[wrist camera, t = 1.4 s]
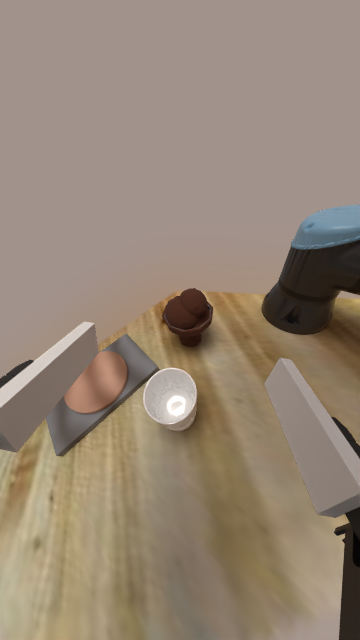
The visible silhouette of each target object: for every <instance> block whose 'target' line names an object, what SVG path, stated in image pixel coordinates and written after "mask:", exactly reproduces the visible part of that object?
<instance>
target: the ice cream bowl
mask: <svg viewBox="0 0 360 640" xmlns="http://www.w3.org/2000/svg"><path fill="white" fill-rule="evenodd" d="M212 314H213V307H212V306H211V305H210V304H209V303H208V302H207V300H206V297H205V296H204V294H203V293H202V292H201V291H199V290H197V289H195V288H194V289H187V290H185V291H183V292H182V293H181V295H180V296H176V297H175V298H174V299H172V300H170V301H168V304H167V305H166V307H165V310H164V313H163V315H162V317H163V319H164V321H165V323H166V324H167V326H168V328H169V330H170V331H171V332H173V333H175V334H178V335H181V338H180V340H181V342H182V343H183V345H186V346H188V347H191V346H196V345H197V344H198V343H200V342H201V334H200V333H201V332H203V331H204V330H205V329H206V328H207V327H208V326H209V325H210V324H211V321H212Z"/></svg>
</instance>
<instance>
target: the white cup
mask: <svg viewBox="0 0 360 640" xmlns="http://www.w3.org/2000/svg"><path fill="white" fill-rule="evenodd" d="M143 402H144V407H145V409H146V412H147V413H148V415H149V416H150V417H151V418H152V419H153V420H154V421H156V422H158V423H159V424H161V425H162V426H164V427H166V428H168V429H171V430H172V431H183V430H185V429H187V428H189V427H190V426H191V424H192V423H193V422H194V420H195V416H196V411H197V390H196V385H195V383H194V380H193V379H192V377H191V376H190V375H189V374H188V373H187V372H185V371H183V370H181V369H178V368H166V369H163V370H160V371H159V372H157V373H156V374H154V375H153V376H152V377H151V378H150V380H149V381H148V383H147V385H146V387H145V390H144V395H143Z"/></svg>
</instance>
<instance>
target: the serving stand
mask: <svg viewBox="0 0 360 640" xmlns="http://www.w3.org/2000/svg"><path fill="white" fill-rule="evenodd" d="M157 371H159V369H158V367H157V366H156V365H155V364H154V362H153V361H152V360H151V359H150V358H149V357H148V356H147V355H146V354H145V353H144V352H143V351H142V350H141V349H140V348H139V347H138V346H137V344H136V343H135V342H134V341H133V340H132V339H131V338H130V337H129V336H128V335H127V334H125V335H123V336H122V337H121V338H119V339H118V340H116V341H115V342H113V343H112V344H111V345H109V346H108V347H106V348H105V349H103V350H102V351H101V352H99V353H98V354H97V355H96V357H95V358H94V359H93V360H92V362H91V363H90V364H89V365H88V366H87V368H86V369H85V370H84V371H83V373H82V374H81V375H80V376H79V377H78V379H77V380H76V381H75V382H74V384H73V385H72V386H71V387H70V388H69V390H68V391H67V392H66V393H65V395H64V396H63V397H62V398H61V399H60V401H59V402H58V403H57V404H56V406H55V407H54V408H53V409H52V410H51V412H50V413H49V414H48V415H47V417H46V421H47V424H48V428H49V431H50V435H51V439H52V442H53V446H54V449H55V453H56V456H63V455H64V454H65V453H66V452H67V451H69V450H70V449H71V448H72V447H73V446H74V445H75V444H76V443H78V442H79V441H80V440H81V439H82V438H83V437H84V436H85V435H87V434H88V433H89V432H90V431H91V430H92V429H93V428H94V427H96V426H97V425H98V424H99V423H100V422H101V421H102V420H103V419H105V418H106V417H107V416H108V415H109V414H110V413H111V412H112V411H114V410H115V409H116V408H117V407H118V406H119V405H120V404H121V403H123V402H124V401H125V400H126V399H127V398H128V397H129V396H130V395H132V394H133V393H134V392H135V391H136V390H137V389H138V388H139V387H141V386H142V385H143V384H144V383H145V382H146V381H147V380H148V379H150V378H151V377H152V376H153V375H154V374H155V373H156V372H157Z"/></svg>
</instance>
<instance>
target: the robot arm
mask: <svg viewBox="0 0 360 640" xmlns="http://www.w3.org/2000/svg"><path fill="white" fill-rule="evenodd" d="M340 291H346V292H349V293H353V294H357V295H360V205H350V206H341V207H335V208H330V209H326V210H322V211H319V212H316V213H314V214H312V215H310V216H309V217H307V218H306V219H305V220H304V221H303V222H302V223H301V225H300V227H299V229H298V231H297V233H296V236H295V238H294V239H293V241H292V242H291V249H290V251H289V254H288V256H287V259H286V262H285V264H284V267H283V270H282V273H281V275H280V278H279V281H278V283H276V285H275V286H274V287H273V288H272V289H271V291H270V292H269V293H268V294H267V295H266V296H265V298H264V301H263V304H262V312H263V315H264V316H265V318H266V319H267V320H268V321H269V322H270V323H271V324H273V325H274V326H276V327H278V328H280V329H282V330H284V331H287V332H291V333H295V334H312V333H316V332H319V331H321V330H322V329H324V328H325V326H326V325H327V324H328V323H329V321H330V320H331V318H332V311H333V307H334V303H335V299H336V297H337V295H338V294H339V293H340ZM98 353H99V352H98V345H97V337H96V330H95V324H94V323H90V322H83V323H82V324H81V325H79V326H78V327H77V328H75V329H74V330H73V331H72V332H70V333H69V334H68V335H67V336H65V337H64V338H63V339H62V340H60V341H59V342H58V343H57V344H55V345H54V346H53V347H52V348H51V349H49V350H48V351H47V352H45V353H44V354H43V355H42V356H40V357H39V358H38V359H37V360H35V361H33V360H29V361H26V362H25V363H22V364H20V365H19V366H17V367H15V368H14V369H13V370H11V371H10V372H9V373H7V375H6V376H3V377H2V378H1V379H0V449H2V450H7V451H12V452H18V451H19V450H20V448H21V447H22V446H23V445H24V443H25V442H26V441H27V440H28V439H29V437H30V436H31V435H32V434H33V432H34V431H35V430H36V429H37V428H38V426H39V425H40V424H41V423H42V421H43V420H44V419H45V418H46V417H47V415H48V414H49V413H50V412H51V410H52V409H53V408H54V407H55V406H56V404H57V403H58V402H59V401H60V399H61V398H62V397H63V396H64V395H65V393H66V392H67V391H68V390H69V388H70V387H71V386H72V385H73V384H74V382H75V381H76V380H77V379H78V377H79V376H80V375H81V374H82V373H83V371H84V370H85V369H86V368H87V366H88V365H89V364H90V363H91V362H92V360H93V359H94V358H95V357H96V355H97V354H98ZM264 385H265V388H266V390H267V393H268V395H269V397H270V400H271V402H272V405H273V407H274V410H275V412H276V415H277V417H278V420H279V422H280V424H281V427H282V429H283V432H284V434H285V437H286V439H287V442H288V444H289V446H290V449H291V451H292V454H293V456H294V459H295V461H296V464H297V466H298V468H299V471H300V473H301V476H302V478H303V481H304V483H305V486H306V488H307V490H308V493H309V495H310V498H311V500H312V503H313V505H314V508H315V510H316V513H317V514H319V515H324V516H329V517H334V518H336V517H339V516H341V515H343V514H346V516H347V518H348V520H349V522H350V523H348V524H345V525H343V526H340V527H337V528H336V529H335V531H334V533H335V534H336V535H337V536H338V535H341V534H344V533H345V538H344V539H343V540H342V541H343V542H344V543H345V548H344V564H343V581H342V598H341V614H340V632H339V640H360V446H359V445H358V444H357V443H356V441H355V439H354V438H353V437H352V435H351V434H350V432H349V431H348V430H347V428H345V427H344V426H343V425H342V424H341V423H340V422H339V421H338V420H337V419H336V418H334V417H330V415H329V414H328V412H327V411H326V409H325V408H324V406H323V405H322V404H321V402H320V401H319V399H318V398H317V396H316V395H315V393H314V392H313V391H312V389H311V388H310V386H309V385H308V383H307V382H306V380H305V379H304V378H303V376H302V375H301V373H300V372H299V370H298V369H297V367H296V366H295V365H294V363H293V362H292V360H290V359H285V358H279V360H278V362H277V363H276V365H275V367H274V368H273V370H272V372H271V373H270V375H269V377H268V378H267V380H266V382H265V383H264Z"/></svg>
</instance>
